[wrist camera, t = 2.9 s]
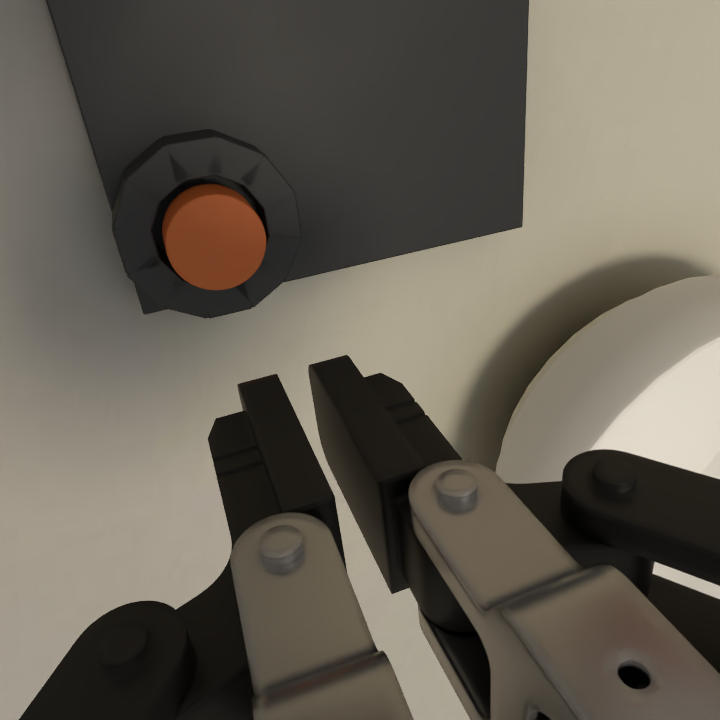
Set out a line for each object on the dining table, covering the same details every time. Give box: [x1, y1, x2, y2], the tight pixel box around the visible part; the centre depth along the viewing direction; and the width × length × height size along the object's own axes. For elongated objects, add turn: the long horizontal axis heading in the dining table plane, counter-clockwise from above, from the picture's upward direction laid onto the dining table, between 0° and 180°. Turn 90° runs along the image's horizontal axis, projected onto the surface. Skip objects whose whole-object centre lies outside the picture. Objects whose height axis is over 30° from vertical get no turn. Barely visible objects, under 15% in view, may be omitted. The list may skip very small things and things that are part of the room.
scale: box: [46, 0, 529, 318], centre depth 22 cm, size 16×14×4 cm
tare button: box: [162, 184, 266, 290], centre depth 21 cm, size 3×3×2 cm
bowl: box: [495, 274, 720, 599], centre depth 34 cm, size 20×20×8 cm
